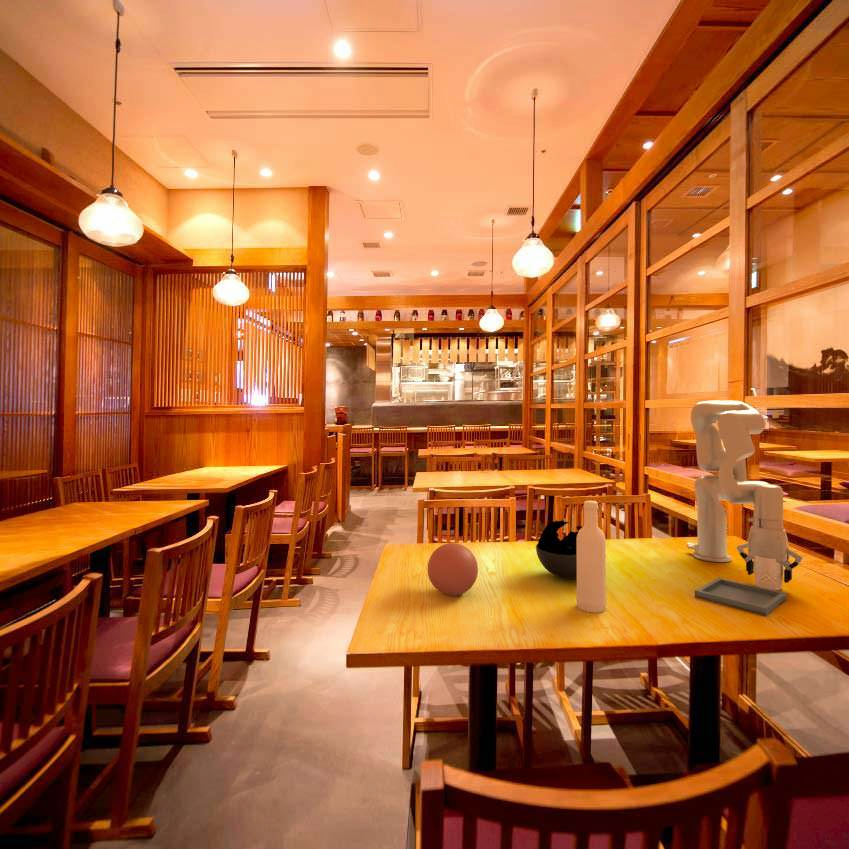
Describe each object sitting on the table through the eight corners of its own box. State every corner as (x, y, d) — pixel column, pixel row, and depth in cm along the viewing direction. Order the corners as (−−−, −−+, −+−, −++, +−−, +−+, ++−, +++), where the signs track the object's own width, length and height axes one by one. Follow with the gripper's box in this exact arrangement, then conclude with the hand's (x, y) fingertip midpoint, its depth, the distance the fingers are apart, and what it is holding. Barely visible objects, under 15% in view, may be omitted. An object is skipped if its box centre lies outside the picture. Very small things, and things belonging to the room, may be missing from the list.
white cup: (778, 584, 152) (778, 553, 152) (788, 592, 145) (788, 559, 145) (749, 581, 155) (749, 551, 155) (757, 589, 148) (757, 557, 147)
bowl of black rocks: (530, 568, 171) (530, 515, 171) (587, 568, 170) (586, 515, 170) (543, 587, 151) (542, 528, 151) (606, 587, 150) (606, 528, 150)
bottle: (602, 615, 129) (602, 504, 128) (573, 609, 133) (572, 502, 133) (608, 605, 135) (608, 500, 135) (580, 600, 140) (580, 498, 139)
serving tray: (694, 597, 142) (694, 590, 142) (718, 583, 153) (718, 577, 153) (766, 616, 128) (766, 608, 128) (786, 600, 139) (786, 593, 139)
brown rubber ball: (463, 578, 159) (463, 533, 159) (485, 600, 140) (485, 548, 140) (419, 582, 156) (418, 536, 156) (435, 605, 136) (434, 552, 136)
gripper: (732, 521, 154) (732, 573, 154) (798, 530, 141) (798, 587, 141) (741, 518, 159) (741, 569, 159) (805, 526, 145) (806, 582, 146)
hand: (768, 577), depth 150 cm, fingers open, 9 cm apart
